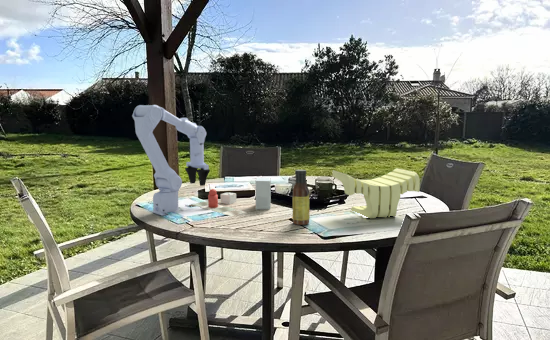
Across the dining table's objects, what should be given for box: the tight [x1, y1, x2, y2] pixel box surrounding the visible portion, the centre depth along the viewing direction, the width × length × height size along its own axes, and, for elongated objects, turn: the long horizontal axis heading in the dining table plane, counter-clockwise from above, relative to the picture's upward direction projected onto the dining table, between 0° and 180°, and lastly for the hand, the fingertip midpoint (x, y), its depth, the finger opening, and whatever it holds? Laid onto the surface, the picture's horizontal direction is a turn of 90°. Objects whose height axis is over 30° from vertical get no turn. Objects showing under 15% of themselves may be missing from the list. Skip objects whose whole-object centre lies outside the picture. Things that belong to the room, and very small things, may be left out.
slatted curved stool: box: [332, 167, 421, 219], centre depth 148 cm, size 30×16×18 cm, turn 106°
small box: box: [255, 177, 272, 210], centre depth 156 cm, size 8×6×13 cm
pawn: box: [207, 188, 219, 208], centre depth 156 cm, size 4×4×8 cm
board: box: [188, 200, 248, 217], centre depth 154 cm, size 10×28×1 cm, turn 46°
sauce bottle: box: [292, 169, 311, 226], centre depth 135 cm, size 6×6×20 cm
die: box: [220, 192, 237, 205], centre depth 164 cm, size 5×5×5 cm
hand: (197, 184), depth 161 cm, fingers open, 7 cm apart
